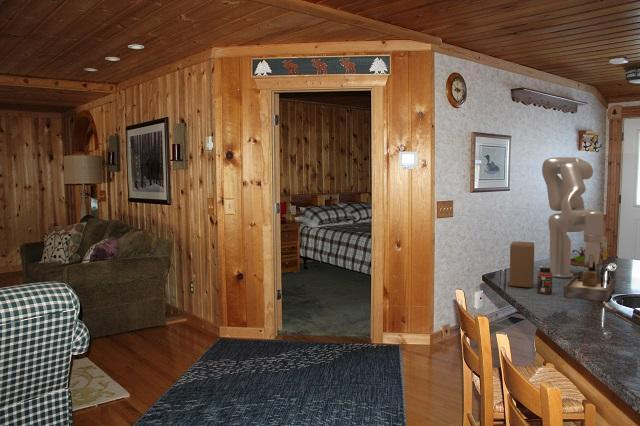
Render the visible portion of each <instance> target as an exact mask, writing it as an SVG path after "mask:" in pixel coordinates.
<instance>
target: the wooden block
mask: <svg viewBox="0 0 640 426" xmlns="http://www.w3.org/2000/svg"><path fill="white" fill-rule="evenodd" d="M509 249H510V250H509V286H511V287H517V288H518V287H519V288H527V289H528V288H529V289H531V288H533V287H534V279H535V271H534V270H535V269H534V268H535V243H534V242H532V241H516V240H515V241H511V243H510V247H509Z"/></svg>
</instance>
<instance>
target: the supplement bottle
mask: <svg viewBox="0 0 640 426" xmlns="http://www.w3.org/2000/svg"><path fill="white" fill-rule="evenodd" d="M539 268H540V270H539V271H538V272H537V277H536V278H537V280H536V282H537V286H536V292H537V293H538V294H542V295H550V294H552V292H553V277H552V273H551V272H550V267H547V266H545V267H540V266H539Z"/></svg>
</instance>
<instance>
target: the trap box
mask: <svg viewBox="0 0 640 426" xmlns="http://www.w3.org/2000/svg"><path fill="white" fill-rule="evenodd" d="M601 281H602V280H597V286H596V287H589V286H583V278H577V275H574V274H573V277H570V278H569V280H568V281H567V282H566V283H565V284H564V285H563V297H565V298H571V299H572V298H573V299H580V300H581V299H582V300H588V301H589V300H590V301H597V302H606V303H607V302H609V299H610V297H611V294H612V292H613V291H614V281H615V279H614V278H610V279H609V281H608V282H609V284H608V285H607V287H606V288H603V287H601Z"/></svg>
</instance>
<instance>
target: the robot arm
mask: <svg viewBox="0 0 640 426" xmlns="http://www.w3.org/2000/svg"><path fill="white" fill-rule="evenodd" d="M541 173H542V176H543V179H544V182H545V185H546V189H547V190H546V191H547V192H546V193H547V197H548V205H549V209H551V211H554V212H556V213H553V214H552V215H550V216H549V217H548V221H547V224H548V230H549V262H548V263H549V265H547V266H544V265H540V266H539V268H540V267H550V272H551V273H552V278H572V277H573V276H574V273H572V272H571V266H570V258H571V256H572V255H571V253H572V250H571V248H572V241H571V238H570V237H569V235H568V234H567V233H580V232H583V242H584V243H585V248H584V250H585V262H584V263H585V264H587V263H588V262H589V264H588V267H587V268H588V269H587V271H597V267H596V265H597V264H598V262H600V260H599V252H600V243H603V237H604V219H605V218H604V217H605V215H604V213H603V212H602V211H599V210H598V211H597V210H593V209H586V208H585V204H584V203H585V202H584V198H583V196H582V195H584V193H586V190H587V188H586V186H585V182H584V180H590V179H591V178H592V177H593V174H594V169H593V166H592V165H591V163H590V162H588V161H587V160H585V159H582V158H579V157H572V156H571V157H567V156H564V157H561V156H559V157H550V158H547V159H545V160H544V161H543V163H542V165H541ZM557 212H559V213H557Z"/></svg>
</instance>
